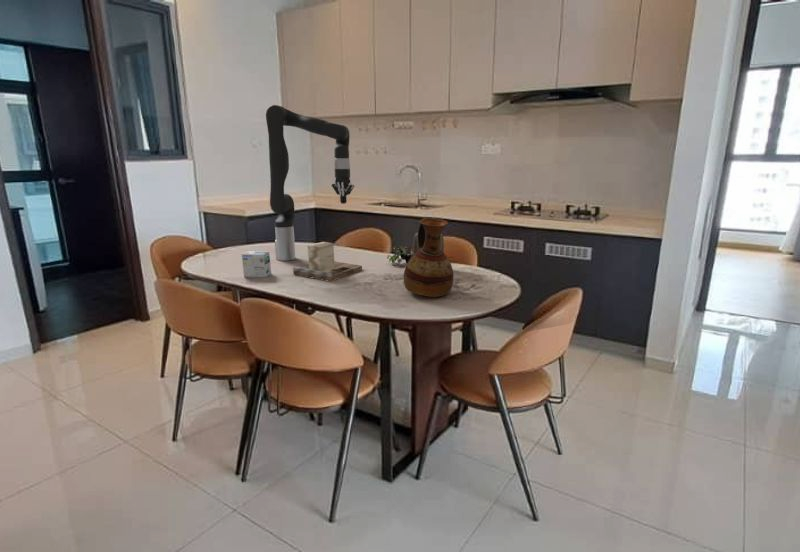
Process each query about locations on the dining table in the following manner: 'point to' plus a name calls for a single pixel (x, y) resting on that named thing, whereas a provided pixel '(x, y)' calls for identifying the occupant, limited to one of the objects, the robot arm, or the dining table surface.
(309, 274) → the trap board
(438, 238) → the ceramic pitcher
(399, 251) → the passion flower
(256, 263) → the light bulb box
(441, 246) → the tabletop clock
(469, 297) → the dining table surface
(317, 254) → the birch block
